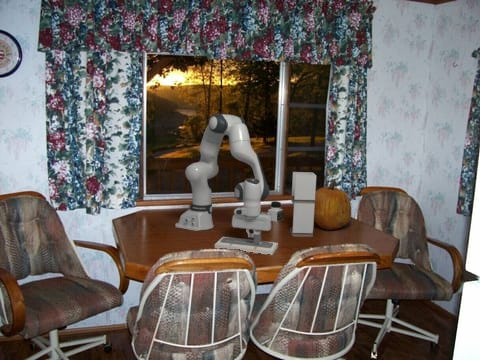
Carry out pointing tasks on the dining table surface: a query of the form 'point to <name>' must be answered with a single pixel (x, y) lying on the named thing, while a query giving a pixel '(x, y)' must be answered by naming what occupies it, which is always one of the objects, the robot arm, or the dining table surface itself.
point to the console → (247, 245)
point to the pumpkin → (331, 207)
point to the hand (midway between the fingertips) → (251, 237)
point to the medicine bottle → (276, 211)
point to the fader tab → (257, 237)
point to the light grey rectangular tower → (303, 203)
